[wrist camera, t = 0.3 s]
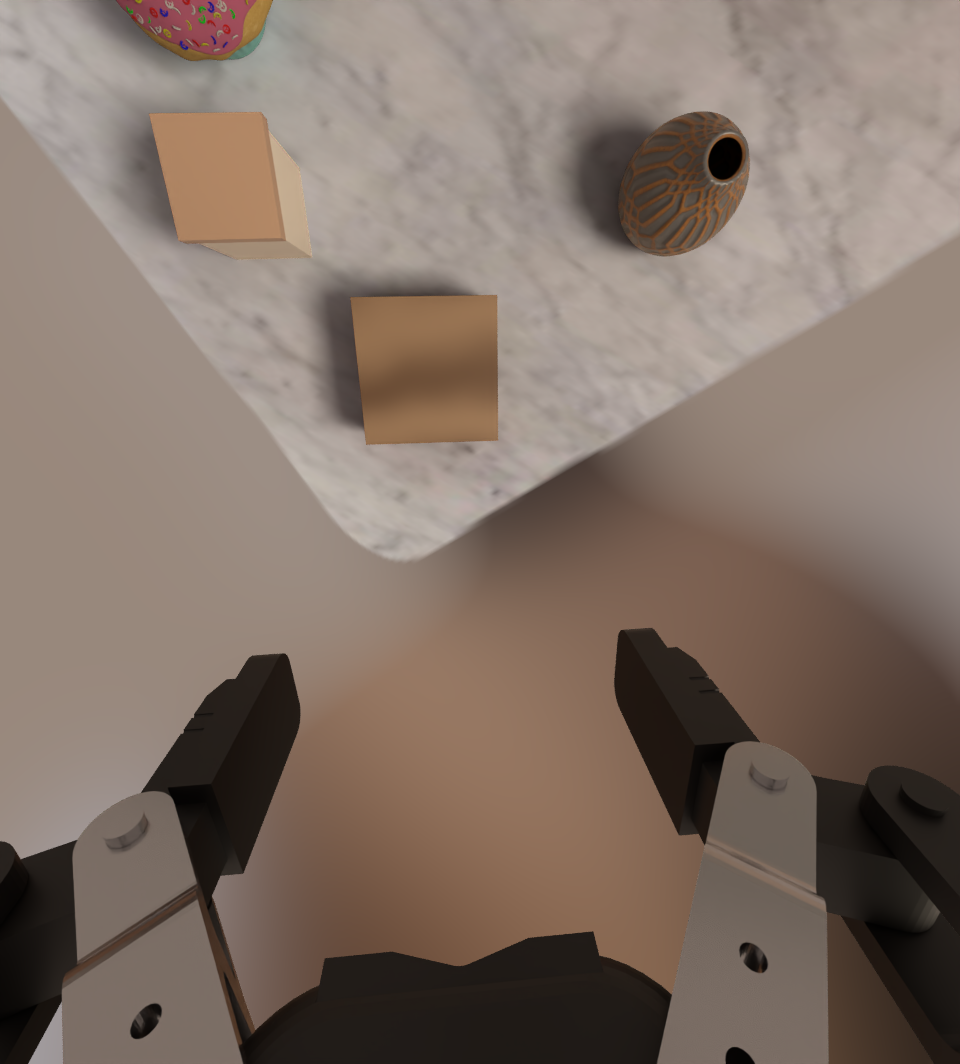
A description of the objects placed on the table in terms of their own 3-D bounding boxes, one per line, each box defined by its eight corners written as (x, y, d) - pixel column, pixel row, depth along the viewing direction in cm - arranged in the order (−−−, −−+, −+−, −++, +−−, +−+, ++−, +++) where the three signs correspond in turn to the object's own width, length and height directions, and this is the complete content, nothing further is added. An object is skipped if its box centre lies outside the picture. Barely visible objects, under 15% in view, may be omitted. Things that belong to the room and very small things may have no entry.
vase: (629, 284, 34) (688, 263, 25) (588, 183, 31) (638, 125, 23) (719, 228, 33) (809, 188, 25) (683, 120, 30) (770, 36, 22)
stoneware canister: (215, 165, 30) (149, 113, 23) (302, 164, 30) (260, 112, 23) (234, 263, 32) (178, 240, 25) (315, 261, 32) (281, 237, 25)
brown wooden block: (363, 304, 33) (350, 297, 29) (490, 302, 34) (497, 295, 29) (376, 432, 36) (366, 444, 32) (491, 429, 37) (497, 440, 32)
